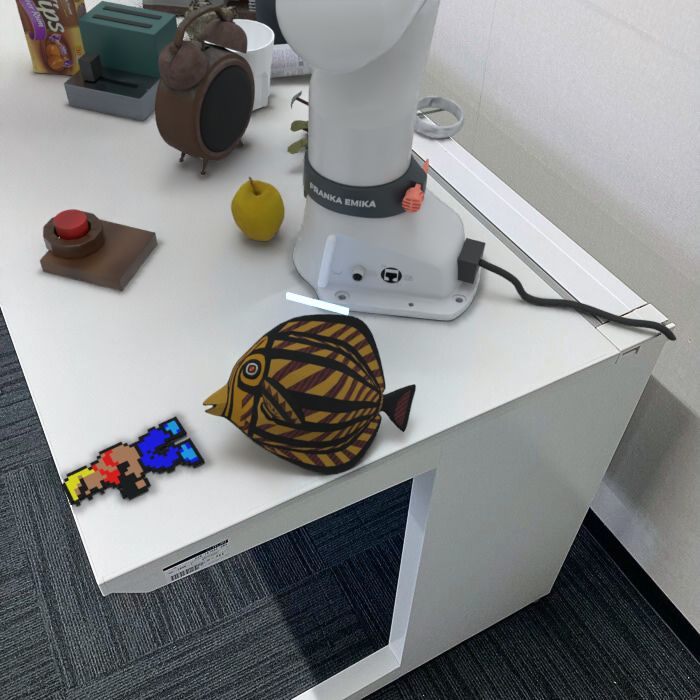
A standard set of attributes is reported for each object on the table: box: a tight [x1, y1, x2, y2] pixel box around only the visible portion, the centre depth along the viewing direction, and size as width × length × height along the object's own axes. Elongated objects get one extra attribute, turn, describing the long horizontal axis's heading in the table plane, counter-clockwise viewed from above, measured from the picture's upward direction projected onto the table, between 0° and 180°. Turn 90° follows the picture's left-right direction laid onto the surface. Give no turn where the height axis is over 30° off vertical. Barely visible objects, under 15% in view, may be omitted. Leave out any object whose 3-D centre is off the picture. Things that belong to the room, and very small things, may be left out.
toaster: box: [63, 0, 178, 122], centre depth 113 cm, size 12×14×10 cm
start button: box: [54, 208, 89, 240], centre depth 88 cm, size 4×4×2 cm
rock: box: [183, 0, 238, 41], centre depth 129 cm, size 6×9×10 cm
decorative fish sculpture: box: [202, 313, 417, 475], centre depth 73 cm, size 14×16×12 cm
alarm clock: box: [154, 5, 255, 177], centre depth 99 cm, size 14×7×20 cm, turn 150°
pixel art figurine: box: [60, 416, 205, 507], centre depth 71 cm, size 6×1×12 cm
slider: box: [78, 52, 103, 81], centre depth 111 cm, size 2×3×3 cm
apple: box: [230, 176, 286, 242], centre depth 92 cm, size 6×6×8 cm
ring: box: [414, 95, 465, 139], centre depth 113 cm, size 8×8×2 cm
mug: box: [255, 0, 288, 45], centre depth 122 cm, size 12×9×11 cm
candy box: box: [15, 0, 88, 76], centre depth 115 cm, size 9×4×15 cm, turn 86°
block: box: [39, 210, 158, 292], centre depth 90 cm, size 11×9×4 cm
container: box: [270, 44, 314, 79], centre depth 120 cm, size 5×5×15 cm
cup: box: [204, 19, 274, 112], centre depth 113 cm, size 10×10×10 cm
